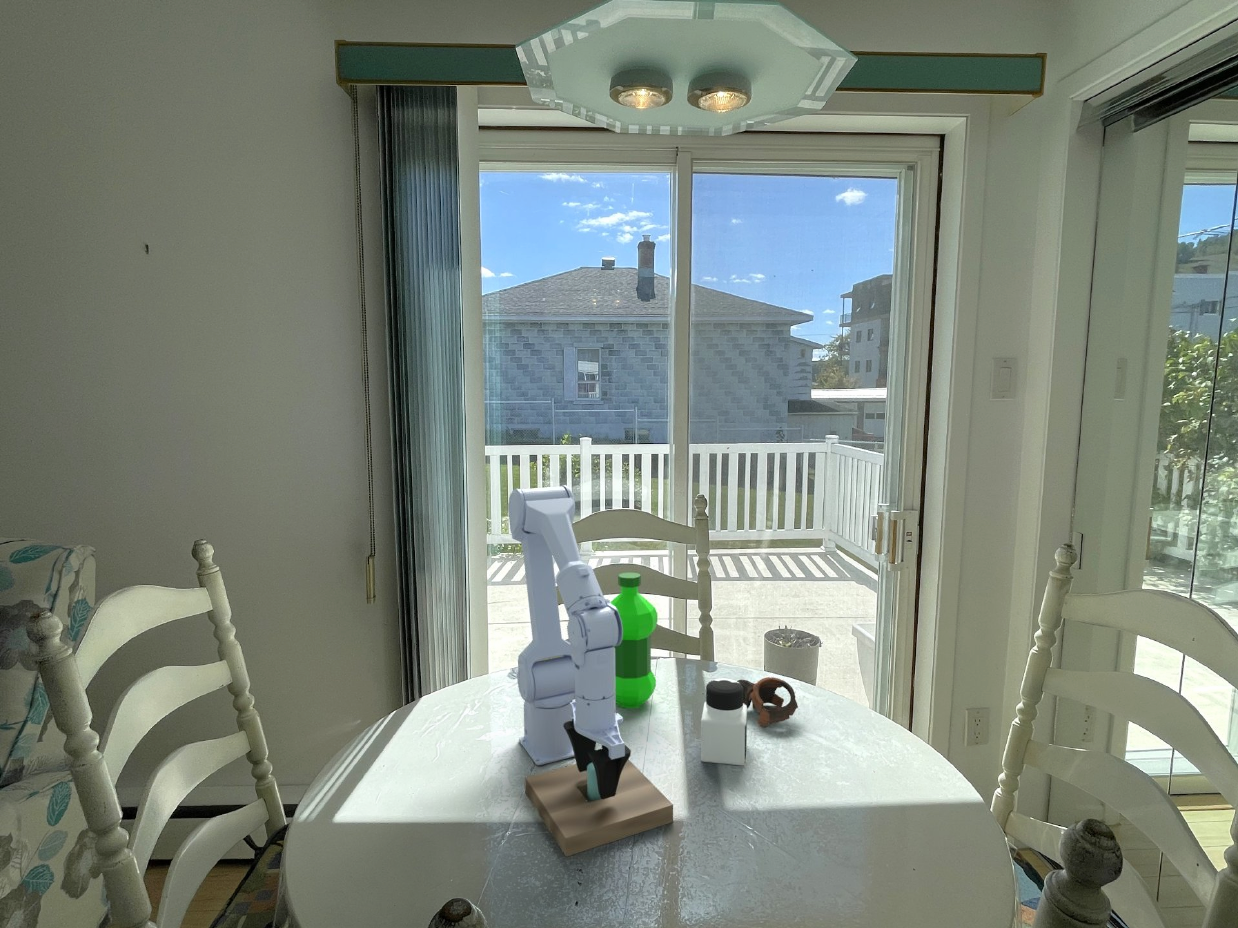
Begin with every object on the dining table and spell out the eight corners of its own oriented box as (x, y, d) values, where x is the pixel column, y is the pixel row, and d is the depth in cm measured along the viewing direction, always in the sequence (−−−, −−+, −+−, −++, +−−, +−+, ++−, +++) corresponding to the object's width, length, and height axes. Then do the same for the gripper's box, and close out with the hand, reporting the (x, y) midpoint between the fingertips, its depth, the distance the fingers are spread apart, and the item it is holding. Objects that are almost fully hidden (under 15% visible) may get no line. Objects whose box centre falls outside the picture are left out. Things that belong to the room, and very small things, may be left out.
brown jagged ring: (797, 709, 131) (805, 682, 126) (783, 750, 124) (791, 724, 119) (737, 684, 135) (742, 657, 130) (720, 722, 128) (725, 695, 123)
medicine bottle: (745, 766, 110) (746, 694, 109) (700, 762, 111) (700, 690, 110) (746, 744, 117) (747, 675, 116) (704, 740, 118) (704, 672, 117)
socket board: (525, 793, 103) (525, 777, 103) (621, 766, 110) (621, 751, 110) (566, 856, 89) (565, 838, 88) (673, 821, 96) (673, 804, 96)
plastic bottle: (658, 713, 128) (658, 582, 126) (602, 714, 128) (600, 582, 126) (656, 690, 138) (656, 568, 136) (603, 691, 138) (602, 568, 136)
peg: (583, 804, 100) (583, 765, 99) (601, 798, 102) (601, 759, 101) (594, 815, 97) (593, 774, 97) (612, 808, 99) (611, 768, 98)
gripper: (644, 706, 93) (644, 801, 94) (599, 668, 106) (600, 752, 107) (597, 717, 90) (598, 815, 91) (556, 676, 103) (557, 763, 104)
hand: (596, 782), depth 99 cm, fingers open, 7 cm apart
